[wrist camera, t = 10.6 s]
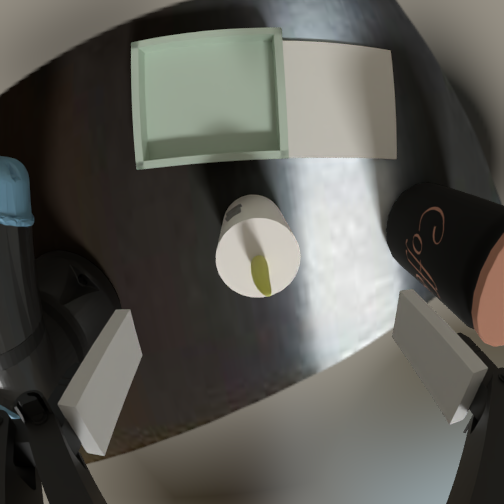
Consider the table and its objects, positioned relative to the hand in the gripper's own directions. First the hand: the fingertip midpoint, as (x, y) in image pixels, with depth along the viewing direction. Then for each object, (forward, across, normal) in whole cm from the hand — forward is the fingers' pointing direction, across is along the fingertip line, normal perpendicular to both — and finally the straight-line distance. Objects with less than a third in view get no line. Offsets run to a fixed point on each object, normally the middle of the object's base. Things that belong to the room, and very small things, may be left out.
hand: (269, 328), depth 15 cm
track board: (+20, +3, +13) cm, 24 cm away
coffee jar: (+20, +20, -1) cm, 28 cm away
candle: (+20, 0, 0) cm, 20 cm away
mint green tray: (+20, -3, +13) cm, 24 cm away
